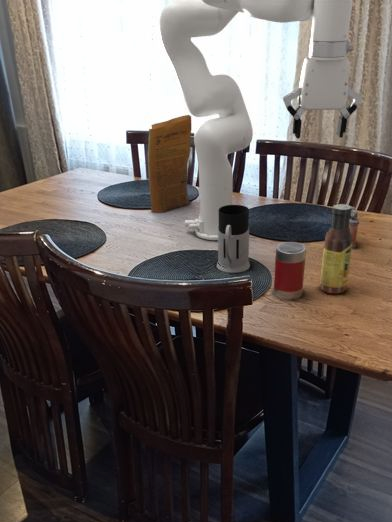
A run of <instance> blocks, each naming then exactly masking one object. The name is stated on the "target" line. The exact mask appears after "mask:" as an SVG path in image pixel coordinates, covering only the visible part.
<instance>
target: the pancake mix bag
mask: <svg viewBox="0 0 392 522" xmlns="http://www.w3.org/2000/svg"><path fill="white" fill-rule="evenodd" d="M191 135H192V115H190V114H186V115H185V114H184V115H182V116H177V117H174V118H171V119H168V120H165V121H161V122H157V123H153V124H151V128H149V129H148V137H147V140H148V141H147V142H148V143H147V173H148V184H149V195H150V202H151V204H150V205H151V207H150V208H151V209H150V212H151V213H165V212H168V211H171V210H174V209H177V208H180V207H184V206H187V205H189V203H190V197H189V194H188V180H189V159H190V153H191V137H192V136H191Z"/></svg>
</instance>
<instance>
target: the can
mask: <svg viewBox="0 0 392 522" xmlns="http://www.w3.org/2000/svg"><path fill="white" fill-rule="evenodd" d="M306 253H307V246H305V244H303V243H300V242H297V241H284V242H280V243H278V244H277V245H276V247H275V257H274V258H275V259H274V279H273V295H274V296H275V297H277V298H278V299H282V300H285V301H286V300H287V301H290V300H297V299H299V298H301V297H302V296H303V289H304V279H305V267H306V255H307V254H306Z"/></svg>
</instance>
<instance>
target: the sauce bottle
mask: <svg viewBox="0 0 392 522" xmlns="http://www.w3.org/2000/svg"><path fill="white" fill-rule="evenodd" d="M352 207H353V206H351V205H349V204H345V203H338V204H334V205H333V206H332V211H331V213H332V221H331V227H330V228H329V229H328V231H327V232H326V234H325V236H324V246H323V250H322V251H323V253H322V260H321V261H322V262H321V271H320V281H319V282H320V285H319V287H320V289H321V291H323V292H324V293H327V294H332V295H338V294H342V293H345V291H346V290H347V285H348V281H349V273H350V268H351V267H350V266H351V258H352V250H353V249H352V244H353V241H352V236H351V232H350V228H349V221H350V214H351V211H352Z"/></svg>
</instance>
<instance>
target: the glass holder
mask: <svg viewBox="0 0 392 522" xmlns="http://www.w3.org/2000/svg"><path fill="white" fill-rule="evenodd" d="M249 219H250V209H249V207H248V206H245V205H242V204H233V205H226V206H223V207H221V208H219V226H218V240H217V259H218V260H217V263H216V268H217V269H218V270H219V271H221V272H223V273H229V274H236V273H242V272H246V271H247V270H249V269H250V267H251V264H250V261H249V254H250V253H249V252H250V226H249V223H250V220H249ZM218 263H219V264H220V265H221V266H220V265H219V264H218ZM222 266H224V267H227V268H224V267H222ZM230 268H233V269H230ZM235 268H237V269H235Z"/></svg>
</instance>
